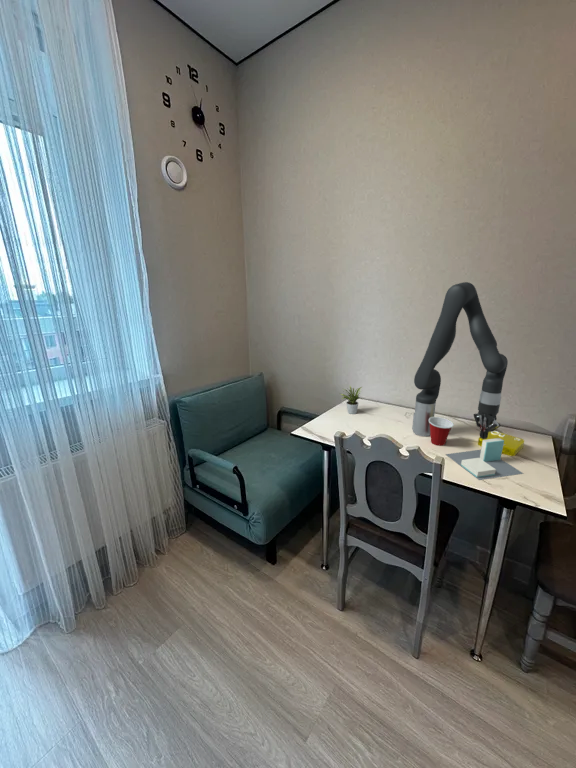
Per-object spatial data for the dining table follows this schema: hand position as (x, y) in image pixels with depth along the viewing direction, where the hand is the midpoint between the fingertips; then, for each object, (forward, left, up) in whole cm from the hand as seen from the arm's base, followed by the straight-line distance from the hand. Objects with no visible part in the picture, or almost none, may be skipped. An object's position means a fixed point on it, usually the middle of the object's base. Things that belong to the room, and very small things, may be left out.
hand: (483, 438), depth 139 cm
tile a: (+7, -11, -6) cm, 14 cm away
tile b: (+5, 0, -7) cm, 9 cm away
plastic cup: (-13, -12, -8) cm, 19 cm away
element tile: (-4, +14, -9) cm, 17 cm away
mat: (+7, -6, -8) cm, 12 cm away
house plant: (-61, -36, -8) cm, 71 cm away
